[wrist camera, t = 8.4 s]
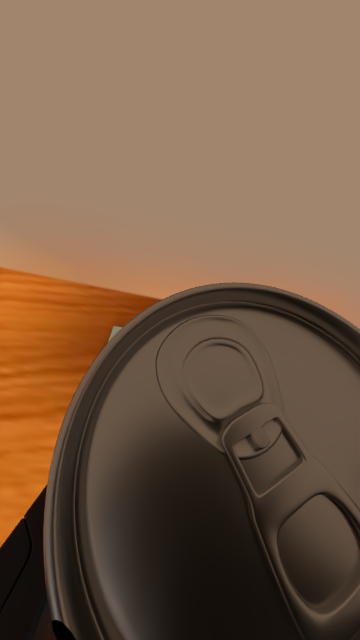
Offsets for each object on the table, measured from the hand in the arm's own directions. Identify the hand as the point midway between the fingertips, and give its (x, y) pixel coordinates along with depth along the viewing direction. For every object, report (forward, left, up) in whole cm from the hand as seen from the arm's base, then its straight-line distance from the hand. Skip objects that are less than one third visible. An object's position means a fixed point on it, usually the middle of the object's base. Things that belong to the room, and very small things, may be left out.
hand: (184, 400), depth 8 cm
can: (-1, 0, -7) cm, 7 cm away
